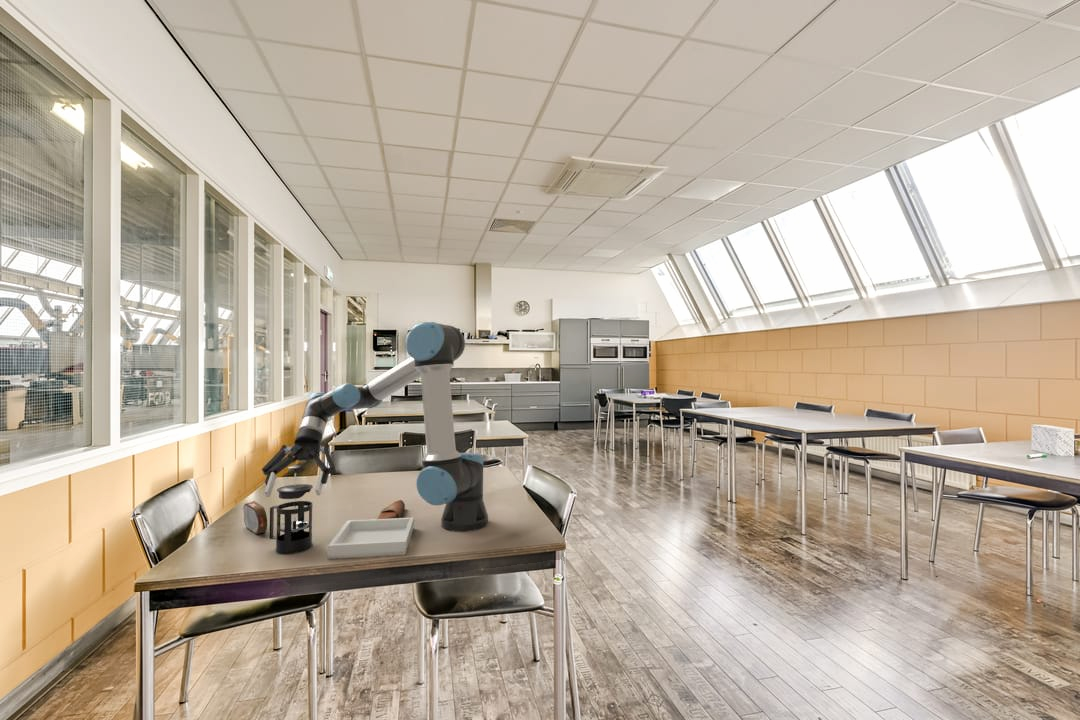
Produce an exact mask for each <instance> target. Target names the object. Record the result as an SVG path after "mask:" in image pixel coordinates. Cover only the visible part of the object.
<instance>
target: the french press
mask: <svg viewBox="0 0 1080 720" xmlns="http://www.w3.org/2000/svg"><path fill="white" fill-rule="evenodd" d="M303 468H304V465H302V464H301V465H300V464H299V465H298V464H295V465H288V466H287V467H286V469H287V470H292V471H293V474H294V484H290V485H289V484H288V485H284V486H280V487H278V488H277V490H276V491H277V492H278V498H279V499H282V500H293V501H289V502H285V503H281V504H278V505H272V506H271V507H269V534H268V535H269V539H270V540H275V542H276V543H275V549H274V551H275V553H277V554H278V555H279V554H280V555H292V554H294V555H295V554H299V553H303V552H305V551H308V550H310V549H311V548H312V547H313V545H314V543H313V502H312V501H308V500H298V501H297V499H300V498H303V496H304V495H306V494H307V493H310V492H311V491H312V489H313V485H312V484H307V483H304V484H303V483H302V484H301V483H299V484H298V483H297V474H298V469H303ZM290 507H293V509H292V508H291V509H287V508H290ZM296 507H297V508H296ZM275 509H276V535H274V525H275V524H274V523H275V521H274V517H275V515H274V513H275ZM307 512H308V520H305V513H307ZM281 515H284V523H281ZM292 515H293V521H292ZM296 515H297V520H296ZM306 529H308V531H307V530H306ZM281 532H282V534H281Z"/></svg>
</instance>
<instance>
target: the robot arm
mask: <svg viewBox="0 0 1080 720" xmlns="http://www.w3.org/2000/svg"><path fill="white" fill-rule="evenodd" d="M464 337H465V336H464V335H463V333H462V332H461V331H460V330H459V329H458V328H456V327H454V326H452V325H449V324H447V325H446V324H442V323H439V322H434V321H423V322H419V323H417V324H416V325H414V326H413V327H411V329H410V330H409V331H408V333H407V335H406V338H405V339H406V340H405V348H406V352H407V354H408V355H409V356H410V357H409V358H407V359H405V360H403V361H402V362H400V363H399V364H397V365H396V366H394V367H391V369H389V370H387V371H385V372H384V373H383V374H381V375H379V376H378V377H376V378H374V379H373V380H371V381H370V382H367V383H366V384H365V385H363V386H356V385H354V384H353V383H349V382H347V383H344V384H342V385H338V386H337V387H336V388H334V389H332V390H330V391H328V392H327V393H326V392H322V391H319V392H314V393H312V394H310V396H309V397H308V400H307V402H306V403H305V408H304V409H303V414H302V416H301V417H302V418H301V421H300V425H299V427H298V429H297V434H296V436H295V439H294V442H293V445H292V446H287V445H286V444H283V445H281V447H280V450H279V451H278V452H277V453H276V454H275V455H274V456H273V457H272V458H270V459H269V461H267V463H266V464H265V465H264V466H263V467H262V468H261V471H262V473H263V475H264V476H266V477H265V479H264V484H265V485H266V486H265V490H264V494H265V496H266V497H267V498H271V495H272V491H273V489H274V486H275V483H276V480H277V476H276V475H278V474H279V473H280V472H281V471H283V470H285V468H287V467H289V466H291V464H293V463H296V462H297V461H299V462H302V461H306V462H308V461H309V462H310V461H311V460H312V461H313V462H314V463H315V464H316V466H318V468H319V469H320V471H319V475H318V478H317V483H316V487H315V490H314V491H315V493H316V495H317V496H321V493H322V489H323V486H324V485H326V484H327V483H328V479H329V475H330V474H336V473H337V470H336V467H335V464H334V462H333V458H332V457H331V448H330V445H329V444H328V443H327V444H324V446H321V444H322V441H323V436H324V433H325V430H326V426H327V423H328V419H329V418H332V417H334V416H336V415H337V414H339V413H341V412H344V411H351V410H352V411H353V410H360V409H361V410H362V409H372V408H376V407H378V406H380V405H381V404H382V402H383V400H384V399H386V398H388V397H389V396H392V395H393V394H394V393H396V392H398V391H400V390H401V389H403V388H405V387H407V386H408V385H410V384H412V383H413V382H414V381H417V380H418V379H420V382H421V383H420V384H421V395H422V397H421V398H422V408H423V409H422V410H423V420H424V431H425V432H424V434H425V445H426V447H425V449H426V453H425V455H424V456H423V457H422V460H421V465H422V470H420V472H419V474H418V475H417V478H416V481H415V482H416V484H415V485H416V489H417V492H418V494H419V496H420V497H421V499H422V500H424V502H426V503H427V504H429V505H432V506H443V505H445V506H444V509H443V513H442V515H441V519H440V521H441V524H440V525H442V526H441V527H442V528H443V527H444V528H443V529H445V528H446V529H445V530H447V529H449V530H448V531H452V530H454V531H453V532H469V531H468V530H471V531H476V530H480V529H483V528H485V527H487V526H488V525H487V524H489V515H488V512H487V508H486V505H485V501H484V458H483V455H482V454H480V453H474V452H471V453H470V452H459V451H458V450H457V448H456V437H455V426H454V412H453V411H454V410H453V401H452V387H451V377H450V375H451V374H450V371H451V369H452V368H453V367H454V365H455V363H454V362H455V361H456V360H458V359H459V358H460V357H461V356H462V354H463V353H464V351H465V347H466V341H465V338H464ZM320 452H322V454H324V456H325V458H326V460H327V464H328V466H329V467H328V466H326V465H325V463H324V462H323V460H322V459H320V457H319V456H318V454H319V453H320ZM486 525H487V526H486ZM484 526H485V527H484ZM482 527H483V528H482ZM479 528H480V529H479ZM475 529H476V530H475Z"/></svg>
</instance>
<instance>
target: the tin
mask: <svg viewBox="0 0 1080 720" xmlns="http://www.w3.org/2000/svg"><path fill="white" fill-rule="evenodd" d="M242 509H243V522H244V525H245V527H246V528H247V529H248V530H249V531H250V532H251V533H253V534H255V535H259V534H262V533H263V534H264V533H266V532H267V530H268V517H267V516H268V515H267V512H266V509H265V507H264V506H263V505H262V504H260V503H258V502H257V501H255V500H253V501H251V502H250V501H249V502H246V503H244V505H243V507H242Z"/></svg>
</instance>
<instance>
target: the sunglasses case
mask: <svg viewBox="0 0 1080 720" xmlns="http://www.w3.org/2000/svg"><path fill="white" fill-rule="evenodd" d="M405 508H406V504H405V502H404V501H403V500H402V499H399V500H397V501H394V502H392V503H391V504H389V505H388V506H386V507H385V508H383V509H381V510H380V513H379V514H378V517H377V518H376V519H391V518H403V514H404V511H405Z"/></svg>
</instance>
